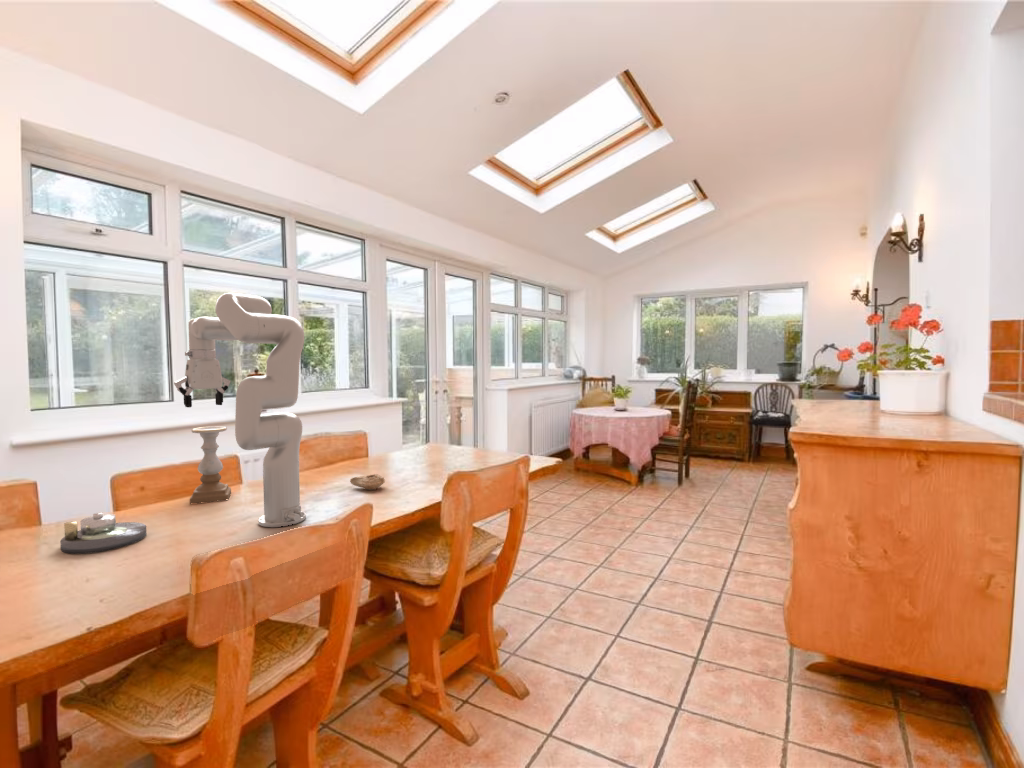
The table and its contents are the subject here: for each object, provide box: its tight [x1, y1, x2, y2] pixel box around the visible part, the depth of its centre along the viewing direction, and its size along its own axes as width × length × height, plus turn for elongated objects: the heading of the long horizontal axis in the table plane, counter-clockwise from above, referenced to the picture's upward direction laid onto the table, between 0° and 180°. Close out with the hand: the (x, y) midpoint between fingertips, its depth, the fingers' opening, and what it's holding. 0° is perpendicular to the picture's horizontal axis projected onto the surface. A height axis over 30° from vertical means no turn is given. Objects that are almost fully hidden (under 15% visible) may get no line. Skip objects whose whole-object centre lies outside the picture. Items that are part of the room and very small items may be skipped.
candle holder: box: [189, 425, 232, 505], centre depth 166 cm, size 11×11×24 cm
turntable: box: [60, 520, 147, 555], centre depth 126 cm, size 17×17×6 cm
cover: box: [80, 512, 117, 534], centre depth 129 cm, size 7×7×4 cm
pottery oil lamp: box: [349, 473, 386, 490], centre depth 179 cm, size 9×12×7 cm
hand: (204, 406), depth 167 cm, fingers open, 9 cm apart
